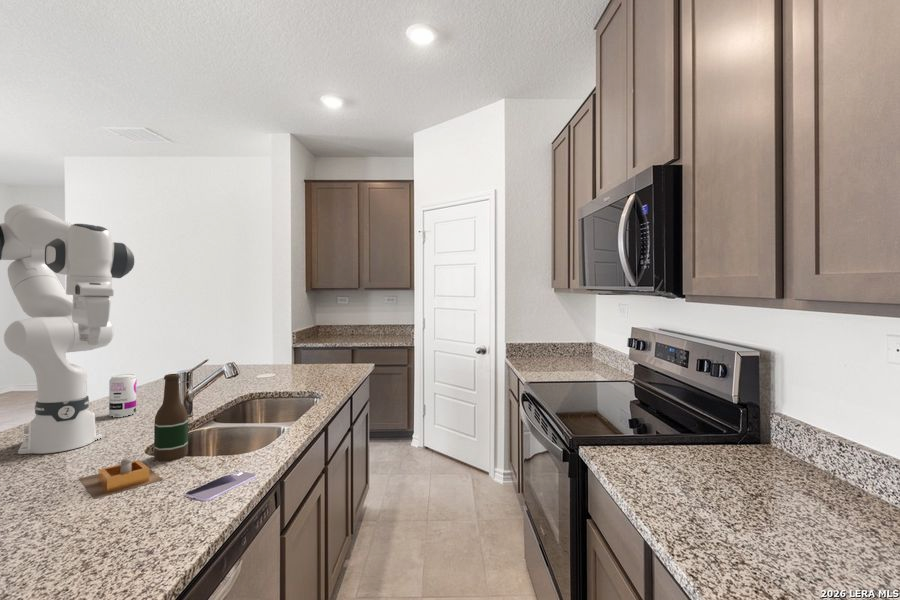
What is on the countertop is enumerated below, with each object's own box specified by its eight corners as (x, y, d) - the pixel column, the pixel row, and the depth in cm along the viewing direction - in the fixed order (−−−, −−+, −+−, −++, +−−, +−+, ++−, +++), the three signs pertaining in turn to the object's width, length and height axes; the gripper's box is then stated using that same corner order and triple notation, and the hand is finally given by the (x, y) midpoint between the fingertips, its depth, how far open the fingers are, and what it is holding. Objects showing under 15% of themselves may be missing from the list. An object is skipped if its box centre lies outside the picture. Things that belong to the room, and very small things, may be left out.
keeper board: (78, 484, 102) (78, 453, 102) (143, 468, 112) (143, 440, 112) (94, 505, 92) (94, 471, 92) (163, 486, 102) (164, 454, 102)
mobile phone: (182, 493, 97) (236, 469, 111) (182, 497, 97) (236, 472, 111) (206, 499, 95) (259, 473, 109) (206, 503, 95) (259, 477, 109)
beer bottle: (171, 468, 113) (172, 377, 113) (146, 465, 114) (147, 376, 114) (194, 457, 121) (195, 372, 120) (171, 455, 122) (171, 371, 122)
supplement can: (135, 411, 168) (135, 373, 168) (136, 415, 161) (137, 376, 161) (108, 414, 163) (109, 375, 163) (109, 419, 156) (109, 378, 156)
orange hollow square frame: (98, 482, 101) (98, 469, 101) (138, 471, 107) (139, 459, 107) (106, 492, 95) (107, 478, 95) (149, 480, 102) (149, 468, 102)
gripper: (64, 287, 112) (63, 340, 112) (82, 288, 99) (81, 347, 99) (95, 288, 117) (94, 338, 117) (115, 289, 104) (114, 345, 104)
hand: (88, 342), depth 108 cm, fingers open, 8 cm apart
